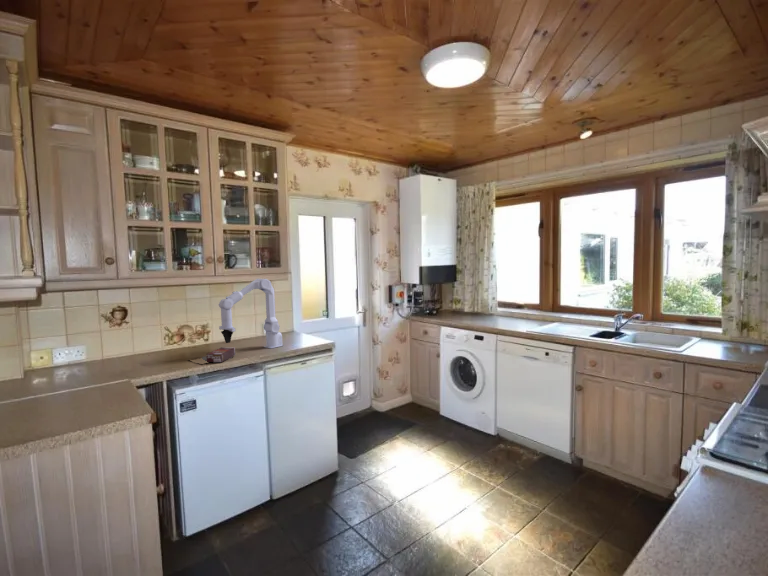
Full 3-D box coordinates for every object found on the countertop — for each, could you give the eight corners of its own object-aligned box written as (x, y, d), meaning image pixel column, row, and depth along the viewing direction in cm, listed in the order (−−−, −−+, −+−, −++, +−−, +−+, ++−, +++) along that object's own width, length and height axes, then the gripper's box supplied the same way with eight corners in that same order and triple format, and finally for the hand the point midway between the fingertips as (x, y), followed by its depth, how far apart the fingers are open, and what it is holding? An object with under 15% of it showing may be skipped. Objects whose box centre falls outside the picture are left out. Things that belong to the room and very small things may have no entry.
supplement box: (235, 346, 222) (221, 354, 207) (235, 355, 223) (222, 362, 207) (220, 347, 223) (206, 354, 207) (221, 355, 224) (206, 362, 208)
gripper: (213, 319, 224) (215, 342, 225) (226, 321, 215) (228, 345, 216) (225, 318, 230) (226, 340, 231) (238, 319, 221) (239, 343, 222)
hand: (227, 342), depth 224 cm, fingers closed
